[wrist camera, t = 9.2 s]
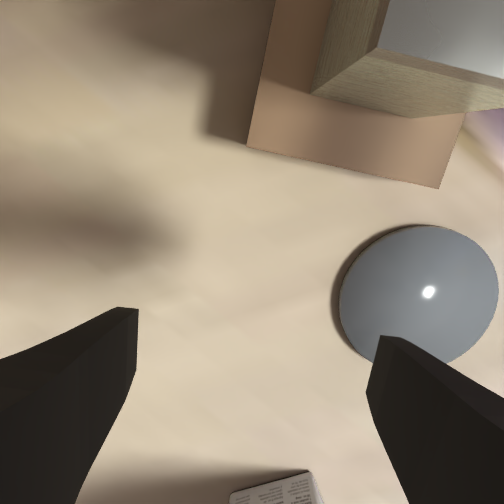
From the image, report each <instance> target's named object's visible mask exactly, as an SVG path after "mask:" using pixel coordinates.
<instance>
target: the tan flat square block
mask: <svg viewBox="0 0 504 504" xmlns="http://www.w3.org/2000/svg"><path fill="white" fill-rule="evenodd" d="M331 4H332V0H276V1H275V6H274V11H273V16H272V21H271V26H270V31H269V36H268V41H267V46H266V51H265V56H264V61H263V66H262V71H261V75H260V80H259V85H258V90H257V95H256V100H255V105H254V110H253V115H252V120H251V125H250V130H249V135H248V140H247V145H246V147H251V148H255V149H260V150H264V151H269V152H273V153H278V154H282V155H287V156H291V157H296V158H300V159H305V160H309V161H314V162H318V163H323V164H327V165H332V166H336V167H341V168H345V169H350V170H354V171H359V172H363V173H368V174H372V175H377V176H381V177H386V178H390V179H395V180H399V181H404V182H408V183H413V184H417V185H422V186H426V187H431V188H435V189H439V187H440V184H441V181H442V178H443V176H444V173H445V170H446V167H447V164H448V162H449V159H450V156H451V153H452V150H453V148H454V145H455V142H456V139H457V137H458V134H459V131H460V128H461V125H462V123H463V120H464V117H465V114H466V112H465V113H456V114H448V115H439V116H430V117H422V118H413V119H412V118H408V117H403V116H399V115H395V114H391V113H386V112H382V111H378V110H374V109H369V108H365V107H361V106H357V105H352V104H348V103H344V102H340V101H336V100H331V99H327V98H323V97H319V96H314V95H310V91H311V87H312V83H313V78H314V74H315V70H316V66H317V62H318V58H319V54H320V49H321V45H322V41H323V37H324V33H325V29H326V24H327V20H328V16H329V12H330V8H331Z"/></svg>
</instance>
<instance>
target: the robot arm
mask: <svg viewBox="0 0 504 504" xmlns="http://www.w3.org/2000/svg"><path fill="white" fill-rule="evenodd" d="M138 313H139V309H133V308H124V307H116V308H113V309H111V310H109V311H107V312H105V313H103V314H101V315H99V316H97V317H95V318H93V319H91V320H89V321H87V322H85V323H83V324H81V325H79V326H77V327H75V328H73V329H71V330H69V331H67V332H65V333H63V334H60V335H58V336H56V337H54V338H52V339H49V340H47V341H45V342H43V343H40V344H38V345H36V346H34V347H31V348H29V349H26V350H24V351H21V352H19V353H16V354H14V355H11V356H8V357H5V358H2V359H0V504H75V502H76V499H77V497H78V494H79V492H80V489H81V487H82V485H83V483H84V481H85V478H86V476H87V474H88V472H89V470H90V468H91V466H92V464H93V462H94V460H95V458H96V456H97V455H98V453H99V451H100V449H101V447H102V445H103V443H104V441H105V439H106V437H107V435H108V433H109V431H110V429H111V428H112V426H113V424H114V422H115V420H116V418H117V416H118V414H119V412H120V410H121V408H122V406H123V404H124V402H125V400H126V397H127V395H128V392H129V389H130V386H131V384H132V381H133V378H134V375H135V372H136V364H137V338H138ZM366 396H367V399H368V403H369V407H370V411H371V414H372V417H373V421H374V424H375V426H376V429H377V431H378V434H379V436H380V438H381V441H382V443H383V445H384V448H385V450H386V452H387V454H388V457H389V459H390V461H391V463H392V466H393V468H394V470H395V472H396V475H397V477H398V479H399V481H400V484H401V486H402V488H403V491H404V493H405V495H406V497H407V500H408V502H409V504H504V398H503V397H501V396H499V395H497V394H496V393H494V392H492V391H490V390H489V389H487V388H485V387H483V386H482V385H480V384H478V383H476V382H475V381H473V380H471V379H470V378H468V377H466V376H465V375H463V374H461V373H460V372H458V371H457V370H455V369H453V368H452V367H450V366H449V365H447V364H445V363H444V362H442V361H441V360H439V359H437V358H436V357H434V356H433V355H431V354H430V353H428V352H426V351H425V350H423V349H421V348H420V347H418V346H416V345H415V344H413V343H411V342H409V341H407V340H405V339H403V338H401V337H395V336H385V335H380V338H379V342H378V346H377V350H376V354H375V358H374V362H373V366H372V370H371V374H370V378H369V381H368V385H367V389H366Z"/></svg>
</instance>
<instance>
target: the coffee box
mask: <svg viewBox="0 0 504 504" xmlns="http://www.w3.org/2000/svg"><path fill="white" fill-rule="evenodd" d="M229 504H324V502H323V499H322V497H321V494H320V492H319V489H318V487H317V485H316V482H315V479H314V477H313V475H312V473H311V472H308V473H304V474H300V475H296V476H293V477H289V478H286V479H282V480H278V481H274V482H271V483H267V484H263V485H260V486H256V487H253V488H249V489H245V490H242V491H238V492H234V493H232V494H231V495H230V499H229Z"/></svg>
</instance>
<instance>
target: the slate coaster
mask: <svg viewBox="0 0 504 504" xmlns="http://www.w3.org/2000/svg"><path fill="white" fill-rule="evenodd" d="M498 292H499V289H498V279H497V274H496V271H495V268H494V266H493V263H492V262H491V260H490V258H489V256H488V255H487V254H486V252H485V251H484V250H483V249H482V248H481V247H480V246H479V245H478V244H477V243H476V242H474V241H473V240H471V239H470V238H468V237H466V236H464V235H462V234H460V233H458V232H455V231H453V230H451V229H447V228H444V227H438V226H430V225H420V226H412V227H407V228H403V229H399V230H396V231H394V232H391V233H389V234H387V235H385V236H383V237H381V238H379V239H378V240H376V241H375V242H373V243H372V244H370V245H369V246H368V247H367V248H366V249H365V250H363V251H362V253H361V254H360V255H359V256H358V257H357V258H356V259H355V261H354V262H353V263H352V265H351V266H350V268H349V270H348V271H347V273H346V275H345V277H344V280H343V283H342V285H341V289H340V294H339V316H340V320H341V324H342V326H343V329H344V331H345V333H346V335H347V337H348V339H349V341H350V343H351V344H352V345H353V347H354V348H355V349H356V350H357V351H358V352H359V353H360V354H361V355H362V356H363V357H365V358H366V359H367V360H369V361H370V362H372V363H373V362H374V358H375V354H376V350H377V346H378V342H379V338H380V335H385V336H395V337H401V338H403V339H405V340H407V341H409V342H411V343H413V344H415V345H416V346H418V347H420V348H421V349H423V350H425V351H426V352H428V353H430V354H431V355H433V356H434V357H436V358H437V359H439V360H441V361H442V362H444V363H445V364H446V363H449V362H451V361H453V360H454V359H456V358H458V357H459V356H461V355H462V354H464V353H465V352H466V351H468V350H469V349H470V348H471V347H472V346H473V345H474V344H475V343H476V342H477V341H478V340H479V339H480V338H481V336H482V335H483V334H484V332H485V331H486V329H487V328H488V326H489V324H490V322H491V320H492V318H493V316H494V313H495V310H496V306H497V302H498Z"/></svg>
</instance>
